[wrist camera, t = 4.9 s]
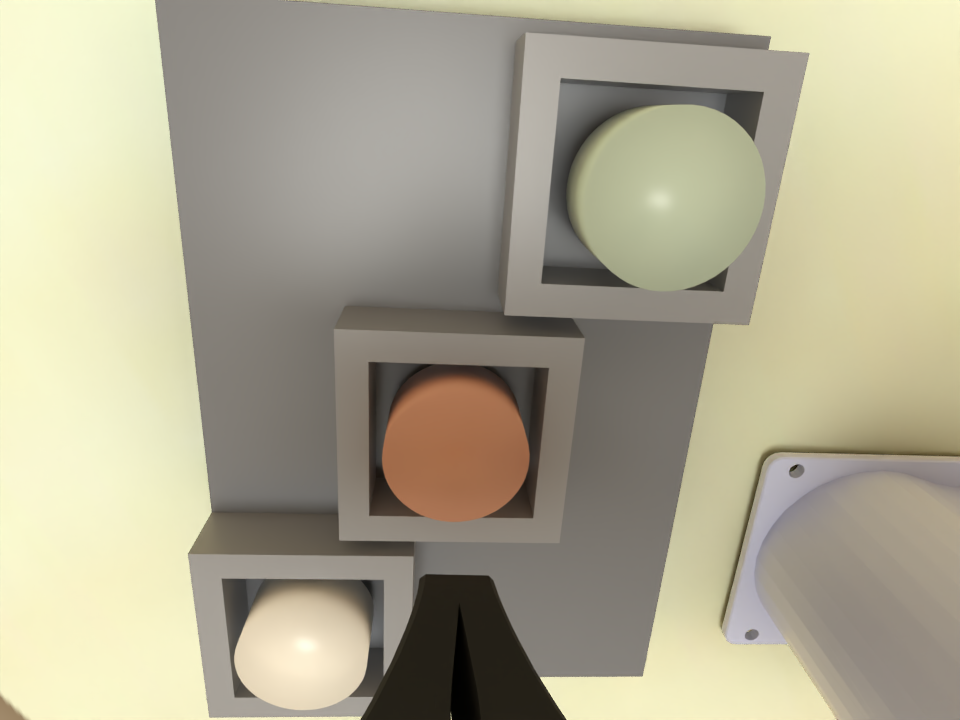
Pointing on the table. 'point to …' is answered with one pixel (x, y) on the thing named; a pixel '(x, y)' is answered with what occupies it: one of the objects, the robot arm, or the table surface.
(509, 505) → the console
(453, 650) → the robot arm
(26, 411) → the table surface
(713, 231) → the button sage
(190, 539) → the table surface
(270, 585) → the button cream
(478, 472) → the button terracotta
